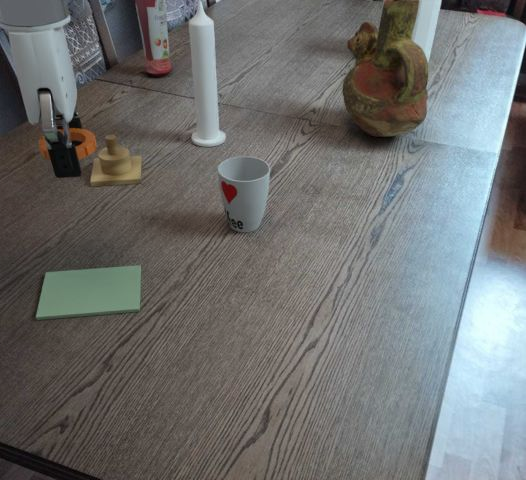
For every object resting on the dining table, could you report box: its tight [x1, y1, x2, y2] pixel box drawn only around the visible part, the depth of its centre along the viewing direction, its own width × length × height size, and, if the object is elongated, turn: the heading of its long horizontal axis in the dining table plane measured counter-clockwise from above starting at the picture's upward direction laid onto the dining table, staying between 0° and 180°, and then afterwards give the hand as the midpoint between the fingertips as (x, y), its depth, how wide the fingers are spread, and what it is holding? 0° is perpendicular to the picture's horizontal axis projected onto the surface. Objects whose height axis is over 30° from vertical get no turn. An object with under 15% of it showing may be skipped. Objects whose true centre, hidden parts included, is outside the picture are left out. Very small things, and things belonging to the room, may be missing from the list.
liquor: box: [134, 0, 173, 78], centre depth 129 cm, size 7×7×28 cm
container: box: [379, 0, 443, 64], centre depth 142 cm, size 14×14×18 cm
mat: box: [35, 264, 142, 321], centre depth 79 cm, size 14×10×1 cm
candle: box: [188, 0, 227, 148], centre depth 105 cm, size 7×7×25 cm
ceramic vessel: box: [342, 0, 429, 138], centre depth 109 cm, size 17×26×25 cm, turn 27°
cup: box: [217, 155, 271, 233], centre depth 88 cm, size 8×8×10 cm
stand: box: [89, 134, 143, 187], centre depth 101 cm, size 9×9×7 cm
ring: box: [37, 128, 98, 161], centre depth 70 cm, size 7×7×1 cm
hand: (71, 160), depth 72 cm, fingers closed on ring, 7 cm apart
